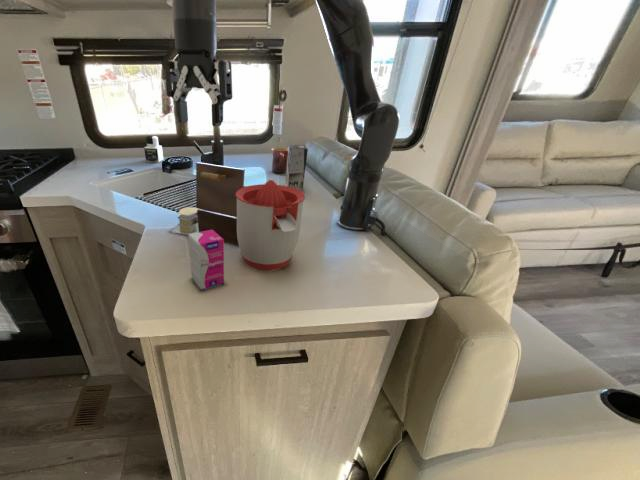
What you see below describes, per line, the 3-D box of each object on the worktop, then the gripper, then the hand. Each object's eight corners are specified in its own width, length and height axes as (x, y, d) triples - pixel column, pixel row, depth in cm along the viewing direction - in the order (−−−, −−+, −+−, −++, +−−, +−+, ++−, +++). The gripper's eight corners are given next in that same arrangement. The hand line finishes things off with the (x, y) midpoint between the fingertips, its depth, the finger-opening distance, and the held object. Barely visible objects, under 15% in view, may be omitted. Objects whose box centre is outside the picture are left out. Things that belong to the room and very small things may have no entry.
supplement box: (201, 292, 70) (198, 244, 64) (191, 279, 75) (187, 233, 68) (225, 285, 73) (224, 238, 66) (213, 273, 77) (211, 228, 70)
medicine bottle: (146, 162, 170) (142, 137, 163) (151, 159, 176) (147, 134, 169) (158, 162, 169) (155, 137, 162) (163, 159, 175) (160, 135, 168)
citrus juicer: (254, 285, 73) (258, 196, 61) (226, 252, 86) (225, 174, 74) (312, 272, 78) (326, 187, 66) (277, 243, 91) (284, 168, 79)
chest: (219, 223, 103) (218, 198, 98) (258, 232, 97) (259, 207, 92) (198, 235, 95) (197, 209, 90) (240, 246, 89) (240, 219, 85)
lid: (197, 162, 84) (185, 163, 80) (244, 169, 79) (233, 171, 75) (197, 207, 90) (186, 211, 86) (241, 217, 85) (231, 221, 81)
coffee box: (303, 192, 130) (308, 148, 120) (287, 192, 130) (291, 148, 120) (300, 186, 137) (304, 144, 128) (284, 185, 137) (288, 144, 128)
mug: (269, 169, 160) (270, 147, 154) (287, 169, 160) (289, 147, 154) (271, 176, 150) (272, 152, 144) (289, 176, 150) (292, 152, 144)
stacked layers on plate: (196, 236, 94) (194, 218, 91) (169, 232, 97) (167, 214, 93) (211, 224, 101) (210, 207, 98) (186, 220, 104) (184, 203, 101)
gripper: (240, 19, 56) (239, 125, 65) (177, 23, 62) (184, 119, 71) (215, 13, 51) (217, 129, 60) (149, 18, 57) (160, 122, 66)
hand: (199, 124), depth 66 cm, fingers open, 8 cm apart
